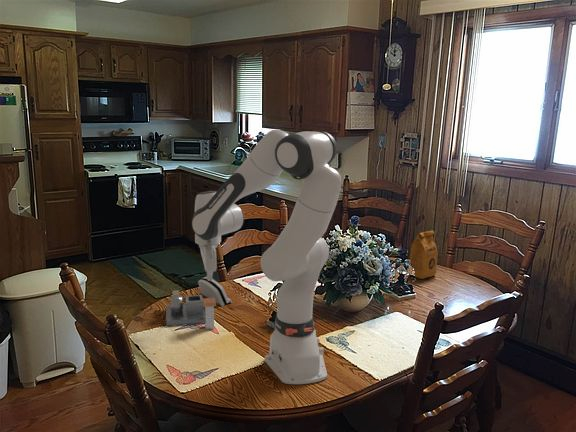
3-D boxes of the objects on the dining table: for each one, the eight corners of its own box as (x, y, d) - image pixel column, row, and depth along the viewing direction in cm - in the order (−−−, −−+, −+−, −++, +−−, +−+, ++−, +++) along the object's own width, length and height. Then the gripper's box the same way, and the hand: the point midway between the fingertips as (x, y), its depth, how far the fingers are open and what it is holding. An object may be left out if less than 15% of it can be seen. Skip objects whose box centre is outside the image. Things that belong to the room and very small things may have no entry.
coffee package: (439, 276, 233) (443, 232, 228) (421, 281, 226) (425, 235, 221) (423, 270, 241) (426, 227, 236) (405, 275, 234) (409, 230, 229)
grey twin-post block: (205, 322, 179) (205, 302, 177) (166, 326, 176) (165, 305, 174) (202, 305, 195) (201, 286, 193) (165, 307, 191) (165, 288, 190)
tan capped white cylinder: (216, 329, 174) (216, 302, 172) (203, 330, 173) (203, 303, 171) (215, 324, 178) (214, 297, 176) (202, 325, 177) (202, 298, 175)
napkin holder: (232, 303, 197) (225, 283, 193) (223, 309, 195) (215, 289, 190) (211, 290, 210) (204, 271, 205) (202, 296, 207) (194, 277, 203)
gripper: (220, 245, 159) (221, 285, 162) (214, 229, 178) (214, 265, 182) (201, 246, 158) (201, 286, 161) (196, 229, 177) (197, 266, 180)
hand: (208, 275), depth 171 cm, fingers open, 8 cm apart
